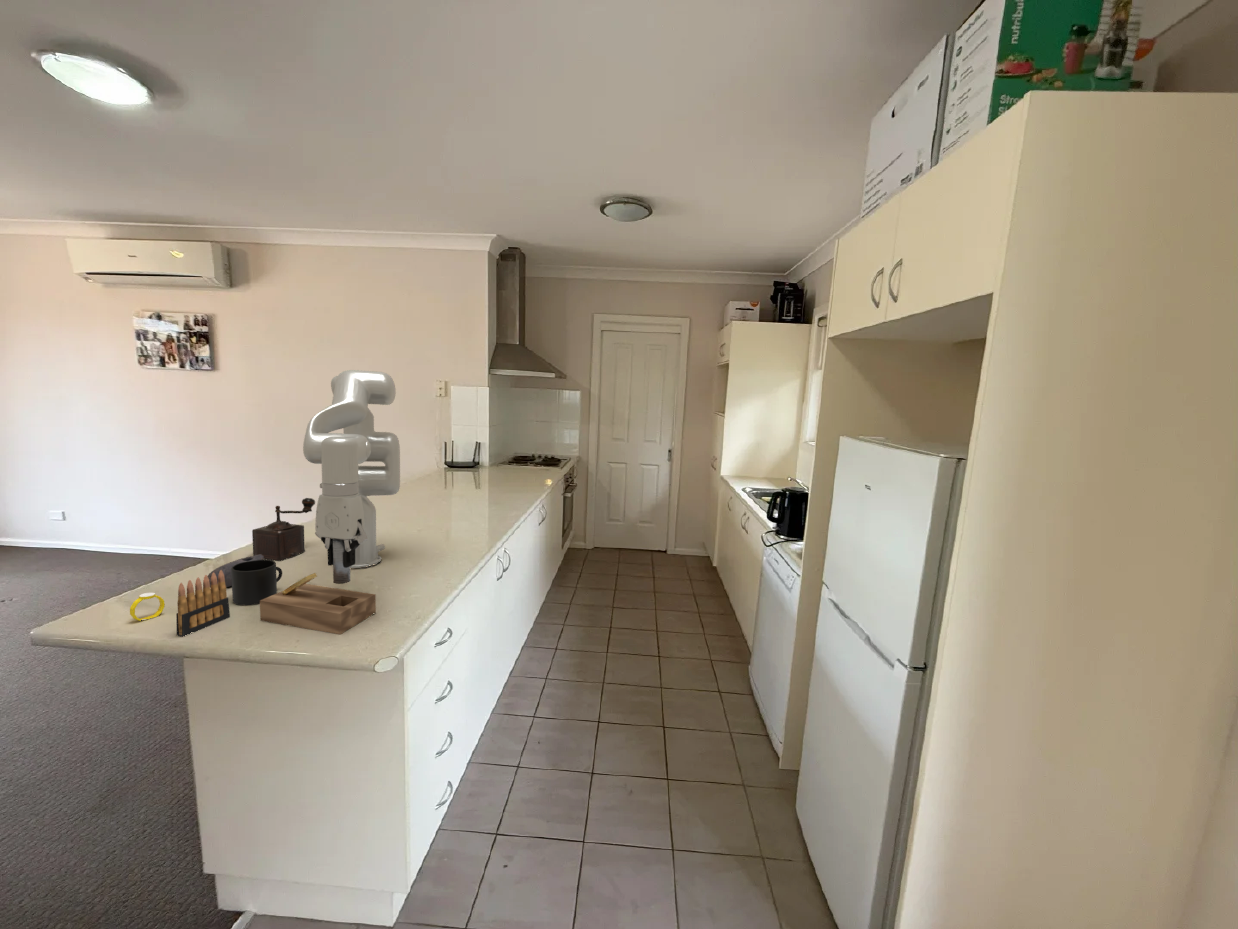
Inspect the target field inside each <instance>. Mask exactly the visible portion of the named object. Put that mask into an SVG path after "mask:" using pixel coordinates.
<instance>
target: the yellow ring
mask: <svg viewBox="0 0 1238 929" xmlns="http://www.w3.org/2000/svg"><path fill="white" fill-rule="evenodd" d="M154 598H156V599H157V600H159V606H158V609H157V610H156V611H155V612H154V613H153V614H151V615H147V616H145V617H141V618H140V617H137V615H136V608H137V607H138V604H139V603H141V602H142V601H144V600H150V599H154ZM165 605H166V604H165V600H164V598H162V597H161V596H159V595H157V594H156V593H155V592H145V593H141V594H140V595H138V598H137V599H134V601H133V602H132V604H131V606H129V607H130V608H129V615H130V616H131V618H132V619H133V620H135V621H139V622H142V621H141V620H142V619H148V620H150V618H151V619H154V617H155V618H157V616H158V617H159V616H160V615H161V614H162V613H163V612H164V609H165Z"/></svg>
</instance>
